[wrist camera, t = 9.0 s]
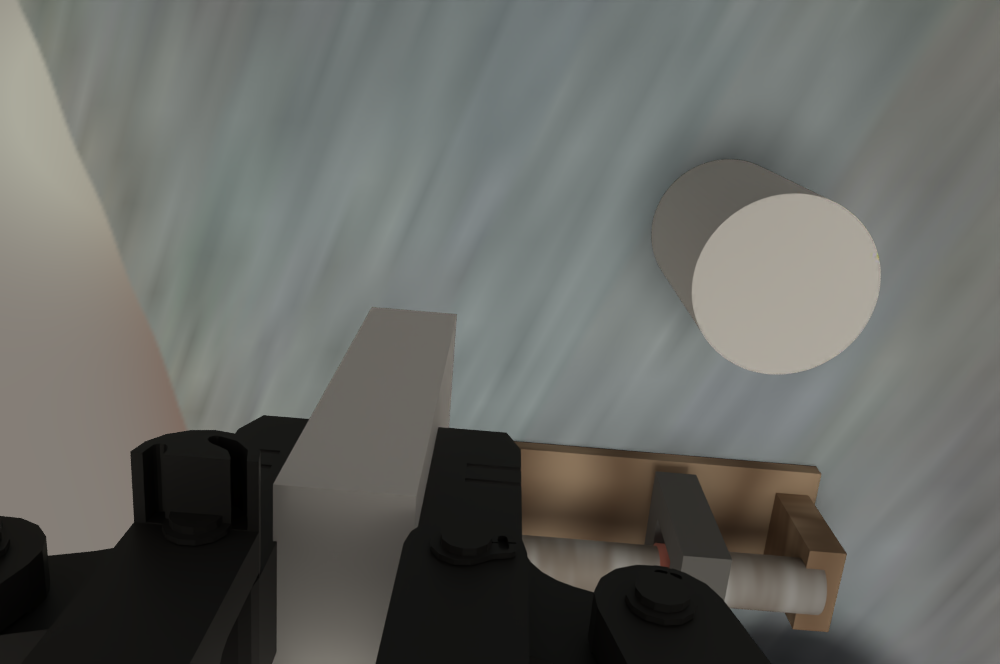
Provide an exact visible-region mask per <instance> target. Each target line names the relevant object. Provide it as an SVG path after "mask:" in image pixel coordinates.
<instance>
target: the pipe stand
mask: <svg viewBox="0 0 1000 664" xmlns="http://www.w3.org/2000/svg"><path fill="white" fill-rule="evenodd" d="M514 442H515V443H516V444H517V446H518V447H519V448H520V449H521V490H522V540H523V543H524V545H525V548H526V551H527V557H528V558H529V560H530V561H531V563H533V564H534V565H535V566H536V567H537V568H538V569H540V570H541V571H542V572H543V573H545V574H547V575H549V576H550V577H552V578H554V579H556V580H558V581H560V582H563V583H566V584H569V585H571V586H574V587H577V588H581V589H584V590H588V591H591V592H594V590H595V588H596V586H597V584H598V582H599V580H600V578H601V577H603V576H604V575H606V574H608V573H609V572H611V571H613V570H614V569H616V568H622V567H627V566H632V565H652V566H654V565H658V566H664V567H670V559H669V555H668V552H667V549H666V545H665V544H663V543H655V544H654V545H644V543H645V537H646V530H647V524H648V517H649V510H650V504H651V497H652V491H653V484H654V478H655V471H658V472H670V473H682V474H694V475H696V476H697V478H698V480H699V483H700V485H701V487H702V490H703V492H704V494H705V497H706V499H707V501H708V504H709V506H710V509H711V511H712V513H713V516H714V518H715V520H716V523H717V525H718V527H719V530H720V532H721V534H722V537H723V539H724V541H725V544H726V546H727V548H728V551H729V553H730V556H731V558H732V564H731V569H730V575H729V580H728V585H727V590H726V596H725V601H724V602H725V603H726V604H727V606H728V607H729V608H736V609H748V610H760V611H772V612H785V614H786V616H787V618H788V620H789V622H790V624H791V627H792V629H798V630H810V631H822V632H828V631H829V627H830V623H831V619H832V615H833V610H834V606H835V602H836V598H837V593H838V589H839V585H840V581H841V577H842V572H843V568H844V564H845V560H846V555H847V553H846V552H845V550H844V549H843V547H842V546H841V544H840V543H839V541H838V540H837V538H836V537H835V535H834V534H833V532H832V531H831V529H830V528H829V526H828V525H827V523H826V522H825V520H824V518H823V517H822V515H821V514H820V512H819V511H818V509H817V508H816V506H815V501H816V496H817V491H818V487H819V482H820V478H821V473H820V472H819V470H818V469H817V467H815V466H804V465H792V464H780V463H768V462H756V461H744V460H732V459H720V458H708V457H696V456H684V455H672V454H660V453H648V452H636V451H624V450H612V449H600V448H588V447H576V446H564V445H552V444H540V443H528V442H516V441H514Z"/></svg>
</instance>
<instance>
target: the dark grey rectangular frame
mask: <svg viewBox="0 0 1000 664" xmlns="http://www.w3.org/2000/svg"><path fill="white" fill-rule="evenodd" d="M655 543H663V544H665V545H666V549H667V552H668V555H669V559H670V567H669V568H670V569H672V568H673V569H676V570H679V571H682V572H684V573H687V574H689V575H690V576H692V577H694V578H696V579H698V580H700V581H702V582H704V583H706V584H707V585H708V586H709V587H710V588H711V589H713V590H714V591H715V592H716V593H717V594H718V595H719V596H720V597H721V598H722V599H723V600H724V601H725V596H726V590H727V585H728V580H729V575H730V569H731V564H732V558H731V556H730V553H729V551H728V548H727V546H726V544H725V541H724V539H723V537H722V534H721V532H720V530H719V527H718V525H717V523H716V520H715V518H714V516H713V513H712V511H711V509H710V506H709V504H708V501H707V499H706V497H705V494H704V492H703V490H702V487H701V485H700V483H699V480H698V478H697V476H696V475H694V474H682V473H670V472H658V471H655V478H654V484H653V491H652V497H651V504H650V510H649V517H648V524H647V530H646V537H645V543H644V545H654V544H655Z"/></svg>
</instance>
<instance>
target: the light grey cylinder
mask: <svg viewBox="0 0 1000 664" xmlns="http://www.w3.org/2000/svg"><path fill="white" fill-rule="evenodd" d="M651 239H652V247H653V252H654V255H655V258H656V261H657V263H658V265H659V267H660V269H661V271H662V272H663V274H664V275H665V277H666V278H667V280H668V281H669V283H670V284H671V286H672V287H673V289H674V290H675V292H676V294H677V295H678V297H679V298H680V300H681V301H682V303H683V304H684V306H685V307H686V309H687V310H688V312H689V313H690V315H691V316H692V318H693V320H694V321H695V323H696V324H697V326H698V327H699V329H700V330H701V332H702V333H703V335H704V336H705V338H706V339H707V341H708V342H709V343H710V345H711V346H712V347H713V348H714V349H715V350H716V351H717V352H718V353H719V354H720V355H722V356H723V357H724V358H726V359H727V360H729V361H730V362H732V363H734V364H736V365H738V366H740V367H742V368H745V369H748V370H750V371H754V372H759V373H765V374H790V373H796V372H801V371H805V370H808V369H811V368H814V367H816V366H819V365H821V364H823V363H825V362H827V361H828V360H830V359H832V358H834V357H835V356H836V355H838V354H839V353H841V352H842V351H843V350H844V349H846V348H847V347H848V346H849V345H850V344H851V343H852V342H853V341H854V340H855V339H856V338H857V336H858V335H859V334H860V333H861V331H862V330H863V329H864V327H865V326H866V324H867V322H868V321H869V319H870V317H871V315H872V313H873V310H874V308H875V305H876V302H877V299H878V294H879V289H880V280H881V271H880V262H879V256H878V253H877V249H876V247H875V244H874V242H873V240H872V237H871V236H870V234H869V232H868V231H867V229H866V228H865V226H864V225H863V224H862V223H861V222H860V220H859V219H858V218H857V217H856V216H855V215H853V214H852V213H851V212H850V211H848V210H847V209H846V208H844V207H842V206H841V205H839V204H837V203H835V202H833V201H831V200H829V199H827V198H825V197H823V196H821V195H819V194H817V193H814V192H812V191H810V190H808V189H806V188H804V187H802V186H800V185H798V184H796V183H794V182H792V181H790V180H788V179H785V178H783V177H781V176H779V175H777V174H775V173H773V172H771V171H769V170H767V169H765V168H763V167H761V166H758V165H756V164H754V163H751V162H747V161H743V160H735V159H722V160H715V161H711V162H707V163H704V164H702V165H699V166H697V167H695V168H693V169H691V170H689V171H688V172H686V173H685V174H683V175H682V176H681V177H679V178H678V179H677V180H676V181H675V182H674V183H673V184H672V185H671V186H670V187H669V189H668V190H667V191H666V193H665V194H664V195H663V197H662V199H661V200H660V202H659V204H658V207H657V209H656V212H655V215H654V219H653V223H652V232H651Z"/></svg>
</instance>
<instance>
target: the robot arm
mask: <svg viewBox="0 0 1000 664" xmlns="http://www.w3.org/2000/svg"><path fill="white" fill-rule="evenodd" d="M456 318H457V314H448V313H436V312H424V311H412V310H400V309H388V308H376V307H372V308H371V310H370V311H369V313H368V315H367V317H366V318H365V320H364V322H363V324H362V326H361V327H360V329H359V331H358V333H357V335H356V336H355V338H354V340H353V342H352V344H351V345H350V347H349V349H348V351H347V353H346V354H345V356H344V358H343V360H342V362H341V363H340V365H339V367H338V369H337V370H336V372H335V374H334V376H333V378H332V379H331V381H330V383H329V385H328V387H327V388H326V390H325V392H324V394H323V396H322V397H321V399H320V401H319V403H318V405H317V406H316V408H315V410H314V412H313V414H312V415H311V417H310V419H302V418H290V417H278V416H266V415H263V416H262V417H260V418H258V419H256V420H254V421H252V422H251V423H249V424H247V425H245V426H243V427H241V428H239V429H238V430H237V432H236V433H235V434H234V433H229V432H223V431H217V430H189V431H183V432H177V433H170V434H165V435H163V436H160V437H157V438H154V439H151V440H148V441H145V442H144V443H142V444H141V445H139V446H138V447H137V448H135V449H134V450H132V451H131V470H132V489H133V508H134V523H133V524H132V526H131V527H130V528H129V530H128V531H127V532H126V533H125V534H124V536H123V537H122V538H121V539H120V541H119V542H118V543H117V544H116V546H115V547H114V548H111V549H105V550H99V551H91V552H81V553H72V554H62V555H52V556H48V555H47V543H46V536H45V534H44V533H43V531H42V530H41V529H40V527H39V526H38V525H36V524H34V523H31V522H29V521H27V520H24V519H22V518H14V517H4V516H0V664H272V662H273V664H771V663H770V661H769V660H768V659H767V657H766V656H765V655H764V653H763V652H762V651H761V649H760V648H759V647H758V645H757V644H756V643H755V641H754V640H753V639H752V637H751V636H750V635H749V633H748V632H747V631H746V629H745V628H744V627H743V625H742V624H741V623H740V621H739V620H738V619H737V618H736V616H735V615H734V614H733V612H732V611H731V610H730V608H729V607H728V606H727V604H726V603H725V602H724V600H723V599H722V598H721V597H720V596H719V595H718V594H717V593H716V592H715V591H714V590H713V589H711V588H710V587H709V586H708V585H707V584H706V583H704V582H702V581H700V580H698V579H696V578H694V577H692V576H690V575H689V574H687V573H684V572H682V571H679V570H676V569H673V568H672V569H670V568H669V567H664V566H658V565H654V566H652V565H632V566H627V567H622V568H616V569H614V570H613V571H611V572H609V573H608V574H606V575H604V576H603V577H601V578H600V580H599V582H598V584H597V586H596V588H595V590H594V592H591V591H588V590H584V589H581V588H577V587H574V586H571V585H569V584H566V583H563V582H560V581H558V580H556V579H554V578H552V577H550V576H549V575H547V574H545V573H543V572H542V571H541V570H540V569H538V568H537V567H536V566H535V565H534V564H533V563H531V561H530V560H529V558H528V557H527V551H526V548H525V545H524V543H523V540H522V490H521V449H520V448H519V447H518V446H517V444H516V443H515V442H514V441H513V440H512V439H511V437H510V436H509V435H508V434H507V433H503V432H491V431H479V430H467V429H455V428H449V418H450V404H451V390H452V375H453V361H454V347H455V332H456Z"/></svg>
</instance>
